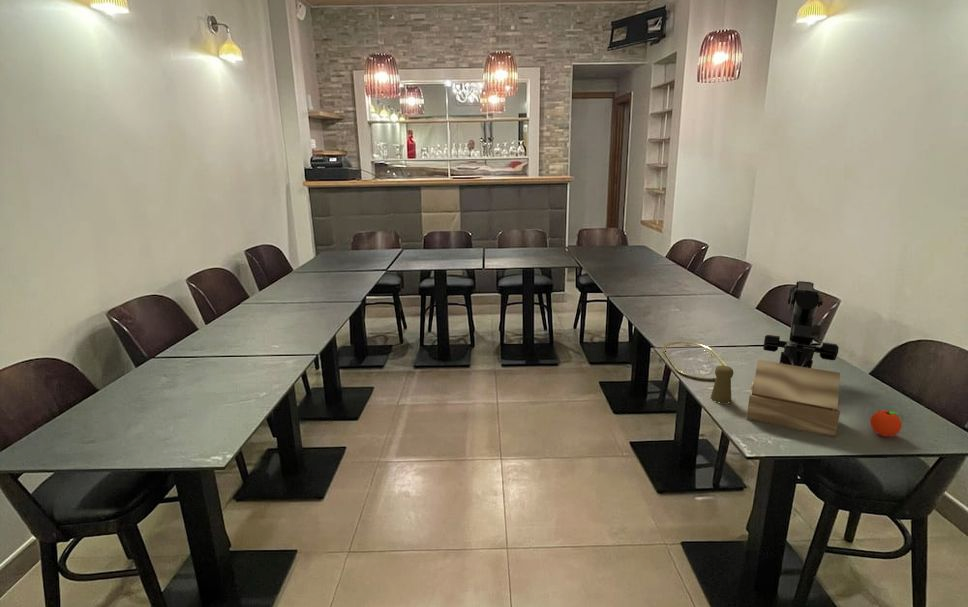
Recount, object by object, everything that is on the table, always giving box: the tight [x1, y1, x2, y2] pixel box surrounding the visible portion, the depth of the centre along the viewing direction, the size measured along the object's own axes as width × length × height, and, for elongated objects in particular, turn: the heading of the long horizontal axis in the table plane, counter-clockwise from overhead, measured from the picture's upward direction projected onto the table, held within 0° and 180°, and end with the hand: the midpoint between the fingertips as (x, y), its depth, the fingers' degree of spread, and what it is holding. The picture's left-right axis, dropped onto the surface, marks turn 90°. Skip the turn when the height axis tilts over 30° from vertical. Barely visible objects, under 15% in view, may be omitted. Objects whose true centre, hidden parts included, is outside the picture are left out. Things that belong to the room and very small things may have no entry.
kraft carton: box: [746, 379, 841, 438], centre depth 155 cm, size 12×22×8 cm, turn 61°
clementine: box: [869, 409, 904, 437], centre depth 146 cm, size 8×7×7 cm
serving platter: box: [662, 341, 727, 381], centre depth 198 cm, size 19×35×2 cm, turn 176°
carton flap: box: [753, 359, 841, 409], centre depth 151 cm, size 11×21×1 cm
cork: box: [710, 365, 734, 404], centre depth 167 cm, size 6×6×11 cm
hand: (796, 373), depth 154 cm, fingers closed
